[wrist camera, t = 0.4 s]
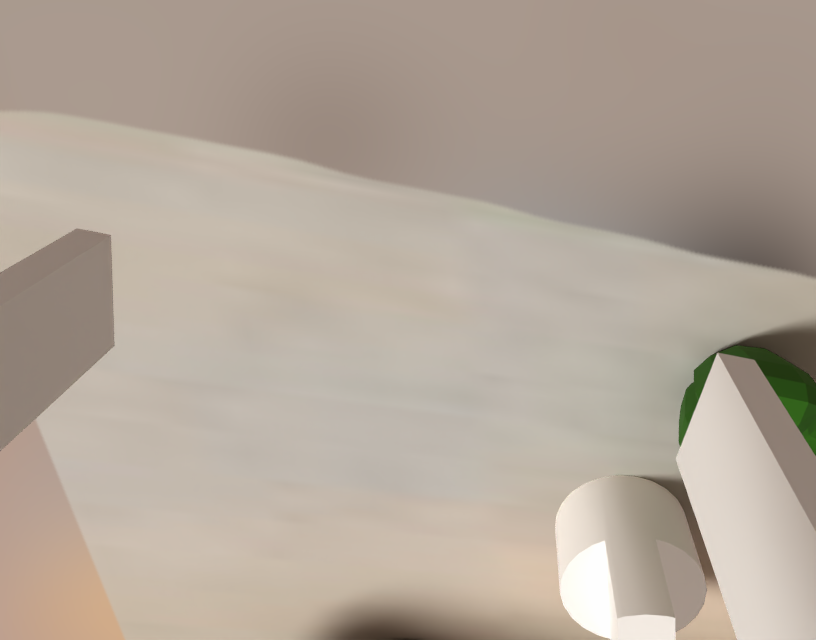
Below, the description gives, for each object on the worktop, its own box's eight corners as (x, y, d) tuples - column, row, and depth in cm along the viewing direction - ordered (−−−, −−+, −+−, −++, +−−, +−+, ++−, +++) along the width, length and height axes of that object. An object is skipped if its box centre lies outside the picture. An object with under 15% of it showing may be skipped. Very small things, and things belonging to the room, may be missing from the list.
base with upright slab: (686, 573, 52) (730, 728, 42) (559, 575, 54) (570, 725, 43) (686, 472, 49) (735, 613, 38) (550, 477, 50) (560, 615, 40)
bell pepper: (637, 378, 46) (665, 475, 37) (752, 301, 43) (815, 387, 34) (715, 462, 48) (760, 575, 39) (831, 395, 45) (910, 500, 36)
